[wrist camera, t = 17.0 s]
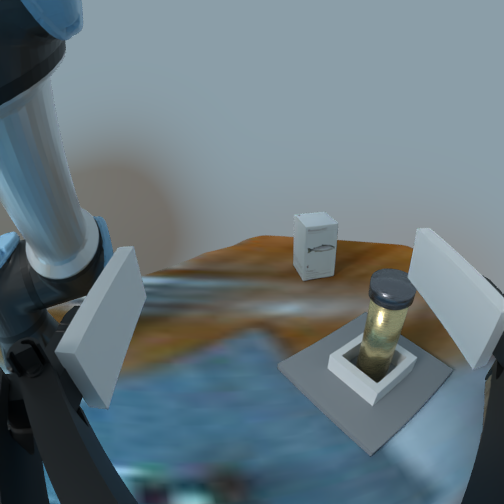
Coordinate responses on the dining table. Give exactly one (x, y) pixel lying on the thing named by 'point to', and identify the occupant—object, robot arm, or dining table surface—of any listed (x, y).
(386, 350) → the lidded glass jar
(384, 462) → the dining table surface
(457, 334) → the robot arm
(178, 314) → the dining table surface
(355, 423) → the socket plate
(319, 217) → the supplement box
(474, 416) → the dining table surface
